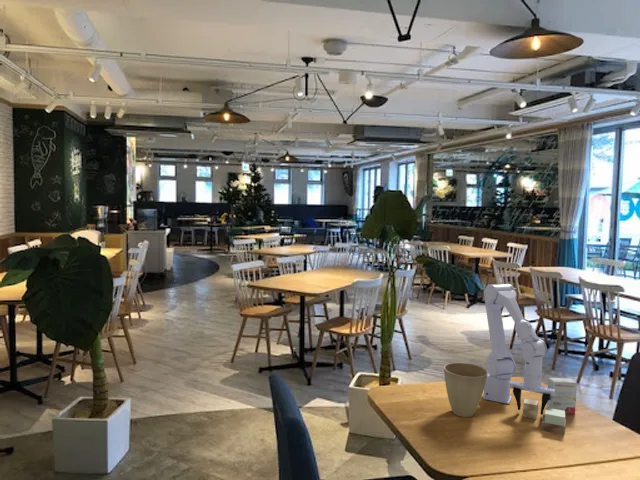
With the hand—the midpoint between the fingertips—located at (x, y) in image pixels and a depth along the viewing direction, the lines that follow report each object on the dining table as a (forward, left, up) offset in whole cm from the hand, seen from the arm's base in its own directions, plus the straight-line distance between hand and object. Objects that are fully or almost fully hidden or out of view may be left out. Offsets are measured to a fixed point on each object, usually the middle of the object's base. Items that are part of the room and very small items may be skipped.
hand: (530, 411), depth 181 cm
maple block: (0, 0, -2) cm, 2 cm away
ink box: (+9, +10, -2) cm, 14 cm away
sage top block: (+8, -7, +1) cm, 11 cm away
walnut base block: (+8, -7, -2) cm, 11 cm away
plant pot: (-21, -11, -2) cm, 24 cm away
